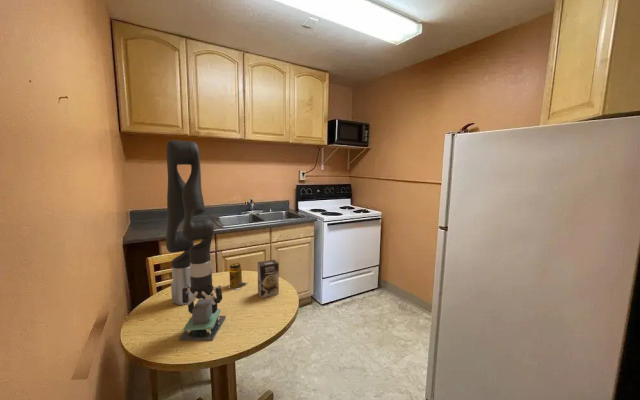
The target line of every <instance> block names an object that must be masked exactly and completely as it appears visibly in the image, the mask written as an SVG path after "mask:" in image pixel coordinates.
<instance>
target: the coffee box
mask: <svg viewBox="0 0 640 400" xmlns="http://www.w3.org/2000/svg"><path fill="white" fill-rule="evenodd" d="M279 269H280V268H279V262H278V261H277V260H276V259H268V260H264V261H257V294H258V295H259V298H261V299H264V298H269V297H273V296H277V295H279V294H280V287H279V286H280V282H279V281H280V279H279V275H280V273H279V272H280V271H279Z"/></svg>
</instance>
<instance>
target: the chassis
mask: <svg viewBox="0 0 640 400" xmlns="http://www.w3.org/2000/svg"><path fill="white" fill-rule="evenodd" d="M226 318H227V316H226V315H219V316H218V318H217V320H216V322H215V325H214V327H213V329H202V330H187V331H184V330H183V333H182V334H181V335H180V337H179V341H214V339H215V338H216V335H217V334H218V332H219V330H220V329H221V327H222V325H223V324H224V322H225V320H226Z"/></svg>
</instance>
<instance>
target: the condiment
mask: <svg viewBox="0 0 640 400" xmlns="http://www.w3.org/2000/svg"><path fill="white" fill-rule="evenodd" d="M228 271H229V272H228V273H229V285H228V286H227V287H226V289H227V288H228V289H230V290H235V291H237V290H240V289H242V288H243V287H244V286H246V285H247V284H248V282H244V281H243V276H242V274H243V273H242V272H243V271H242V267H241V263H239V262H233V263H231V264H230V265H229V270H228Z"/></svg>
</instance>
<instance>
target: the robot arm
mask: <svg viewBox="0 0 640 400" xmlns="http://www.w3.org/2000/svg"><path fill="white" fill-rule="evenodd" d="M165 150H166V153H165V154H166V166H167V167H166V168H167V193H166V199H167V200H166V205H167V206H166V207H167V209H166V210H167V225H166V235H165V236H166V237H165V246H166V250H167V251H168V252H169V253H171V254H172V253H179V252H182V253H181V254H179V255H178V256H176V257H174V258H173V259H172V260H171V263H170V264H171V271H172V272H171V274H172V275H171V276H172V282H171V283H170V289H171V301H172V302H171V303H172V304H175V305H178V306H179V305H180V306H181V305H184V306H185V305H187V307H188V312H189V314H192V309H193V308H194V306H195V302H194V301H196V299H197V300H199V299H207V300H208V301H210V302H211V303H212V314H214V313H215V312H216V311H217V309H219V308H218V304H220V303H221V301H222V300H223V292H222V285H218V286H214V285H213V275H212V274H213V272H212V271H213V267H212V261H211V245H212V244H211V243H212V241H213V237H214V231H215V226H214V224H213V221H212V220H210V219H200V220H193V218H194V217H197V216H201V215H203V214H204V213H205V211H206V209H205V203H204V197H203V190H202V174H201V172H202V171H201V170H202V169H201V157H200V155H201V154H200V149H199V145H198V144H197V143H196V142H195V141H189V140H188V141H187V140H168V141H167V144H166V149H165ZM178 165H179V166H180V165H183V166H185V165H187V166H188V165H189V166H190V167H191V169H190V170H191V171H190V174H189V177H188V179H187V181H186V182H185V181H184V179H183V178H182V177H181V175H180V173H179V170H178ZM182 222H183V225H182V230H178V228H179V227H180V224H181V223H182ZM199 240H201V241H200V242H199V243H197V244H195V241H199ZM213 291H214V293H215V294H214V293H213Z"/></svg>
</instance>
